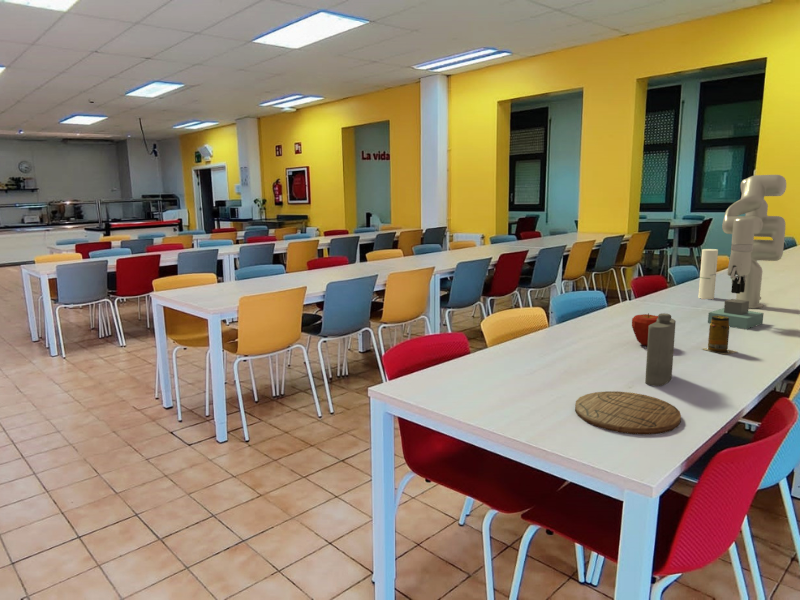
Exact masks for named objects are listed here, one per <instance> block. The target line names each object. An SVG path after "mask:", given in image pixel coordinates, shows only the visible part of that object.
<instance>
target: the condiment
mask: <svg viewBox="0 0 800 600" xmlns="http://www.w3.org/2000/svg"><path fill="white" fill-rule="evenodd" d="M711 322H712V323H709V330H708V340H707V341H708V342H707V347H706V348H705V347H703V348H702V350H704V351H708V352H713V353H717V354H721V355H730V354H735V353H738V351H736V350H733V349H728V347H729V338H730V327H729V318H728V317H725V316H713V317H712V321H711ZM707 348H708V349H707Z"/></svg>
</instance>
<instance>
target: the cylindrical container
mask: <svg viewBox="0 0 800 600" xmlns="http://www.w3.org/2000/svg"><path fill="white" fill-rule="evenodd" d="M718 255H719V249H715V248H703V249H701V259H700V260H701V261H700V272H699V285H698V299H699V298H701V299H700V300H705V299H712V300H715V291H716V282H717V281H716V279H717V270H718V269H717V266H718V259H719V258H718V257H719V256H718Z"/></svg>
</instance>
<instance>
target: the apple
mask: <svg viewBox="0 0 800 600" xmlns="http://www.w3.org/2000/svg"><path fill="white" fill-rule="evenodd" d="M657 318H658V315H655V314H654V315H653V314H650V313H647V314H645V313H644V314H636V315H634V316H633V317H632V318H631V328H632V331H633V333H634V335H635V338H636V340H637V342H638V343H639V344H641V345H642V346H647V345H648V329H649V325H650V324H653V323H655V322H656V321H657Z"/></svg>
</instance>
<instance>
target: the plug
mask: <svg viewBox="0 0 800 600" xmlns="http://www.w3.org/2000/svg"><path fill="white" fill-rule="evenodd" d="M723 308H724V313H730V314H736V315H743V314H746V313H748V311H749V309H750V308H749V301H745V300H737V299H736V298H730V299H727V300H724V307H723Z"/></svg>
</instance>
